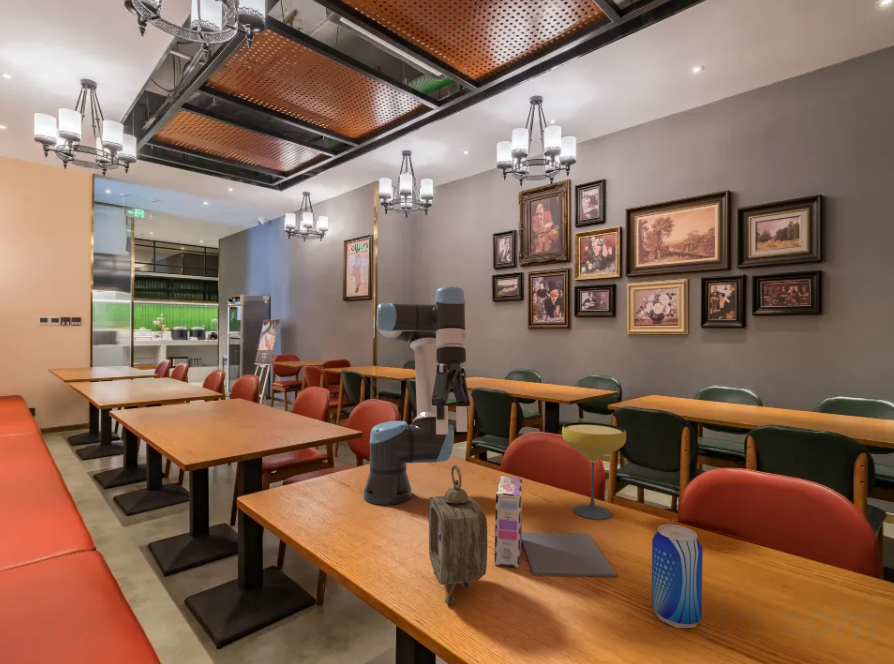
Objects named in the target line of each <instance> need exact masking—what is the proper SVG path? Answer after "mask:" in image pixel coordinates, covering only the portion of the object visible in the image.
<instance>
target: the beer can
mask: <svg viewBox="0 0 894 664" xmlns="http://www.w3.org/2000/svg"><path fill="white" fill-rule="evenodd" d="M703 551H704V549H703V546H702V544H701V543H700V541H699V540H698V535H697V533H696V531H694V530H692V529H691V528H688V527H686V526H682V525H678V524H661V525H659V526H658V527H657V531H656V532H655V534H654V535H653V537H652V541H651V597H650V598H651V601H650V602H651V603H650V604H651V608H652V610H653V612H654V613H655V616H656V617H657V618H658V619H659V620H660V621H661V622H662V621H663V622H662V623H664V622H665V623H667V624H669V625H672V626H675V627H679V628H691V627H694V626H695V627H696V626H697V625H698V624H699V623H700V622H701V621H702V618H703V565H704V564H703V562H704V561H703V559H704V558H703V554H704V553H703ZM665 623H664V624H665ZM667 624H666V625H667ZM669 625H668V626H669ZM672 626H671V627H672ZM675 627H674V628H675ZM695 627H694V628H695ZM679 628H678V629H679Z"/></svg>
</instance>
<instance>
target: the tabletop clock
mask: <svg viewBox="0 0 894 664" xmlns="http://www.w3.org/2000/svg"><path fill="white" fill-rule="evenodd" d="M454 471H456V473H457V476H458V479H455V475H454ZM450 473H451V481H452V484H453V487H451V488H448V489H447V490H446V491H445V493H444V495H441V496H439V495H438V496H430V497H429V509H428V511H429V512H428V553H429V560H430V564H431V565H432V569H433V574H434V575H435V577H436V580H437V581H438V584H439V585H443V586H444V585H450V588H449V593H448V594H449V595H447V596H445V599H444V601H445V605H447V606H451V605H453V603H454V597H453V596H452V595H453V593H454V591H455V588H456V585H457V584H459V583H461V586H462V588H468V587H469V585H470V582H475V581H476V582H477V581H479V580H481V578H483V577H484V576H485V575H486V574H487V573H486V572H487V569H488V568H487V566H488V521H487V516H486V514H485V512H484V510H483V509H482V507H481V506H480V504H479V503H478V502H477V501H476V500H475V498H472V497H471V496H468V493H467V492H466V491H465V490H464V488H461V487H462V473H461V470H460V468H459V467H458V466H457V465H456V464H453V465H452V467H451V472H450Z"/></svg>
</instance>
